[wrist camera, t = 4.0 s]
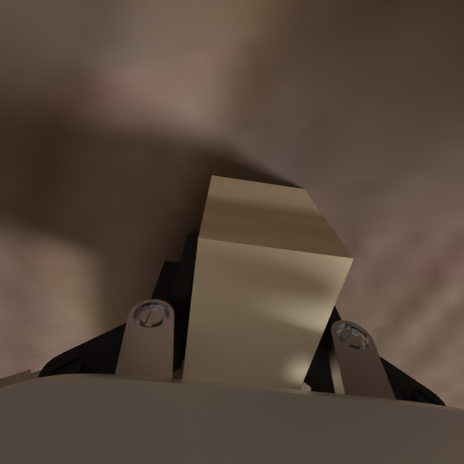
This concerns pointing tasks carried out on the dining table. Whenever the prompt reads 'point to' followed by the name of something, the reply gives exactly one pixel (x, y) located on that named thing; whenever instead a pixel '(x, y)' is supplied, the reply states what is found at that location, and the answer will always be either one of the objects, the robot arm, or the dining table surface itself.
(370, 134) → the dining table surface
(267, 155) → the dining table surface
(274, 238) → the rail
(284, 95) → the dining table surface
